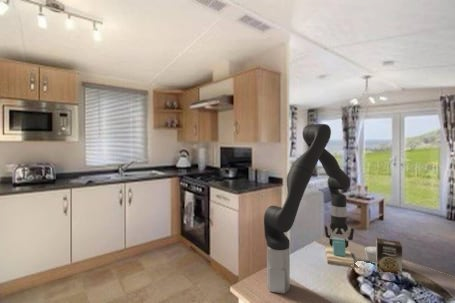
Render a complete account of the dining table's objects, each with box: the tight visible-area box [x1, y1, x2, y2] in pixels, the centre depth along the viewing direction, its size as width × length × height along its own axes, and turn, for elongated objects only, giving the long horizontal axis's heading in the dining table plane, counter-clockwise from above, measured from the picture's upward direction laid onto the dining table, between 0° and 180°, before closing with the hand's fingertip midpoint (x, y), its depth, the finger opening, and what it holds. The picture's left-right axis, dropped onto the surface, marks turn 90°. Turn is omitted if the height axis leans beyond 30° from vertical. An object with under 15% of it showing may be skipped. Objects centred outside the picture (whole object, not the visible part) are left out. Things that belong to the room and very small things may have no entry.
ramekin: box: [364, 246, 376, 263], centre depth 119 cm, size 11×11×5 cm
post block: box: [324, 246, 355, 268], centre depth 123 cm, size 16×12×8 cm
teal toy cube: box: [332, 237, 346, 256], centre depth 123 cm, size 5×5×7 cm
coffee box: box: [375, 237, 403, 276], centre depth 104 cm, size 9×6×16 cm
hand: (338, 246), depth 123 cm, fingers open, 6 cm apart
